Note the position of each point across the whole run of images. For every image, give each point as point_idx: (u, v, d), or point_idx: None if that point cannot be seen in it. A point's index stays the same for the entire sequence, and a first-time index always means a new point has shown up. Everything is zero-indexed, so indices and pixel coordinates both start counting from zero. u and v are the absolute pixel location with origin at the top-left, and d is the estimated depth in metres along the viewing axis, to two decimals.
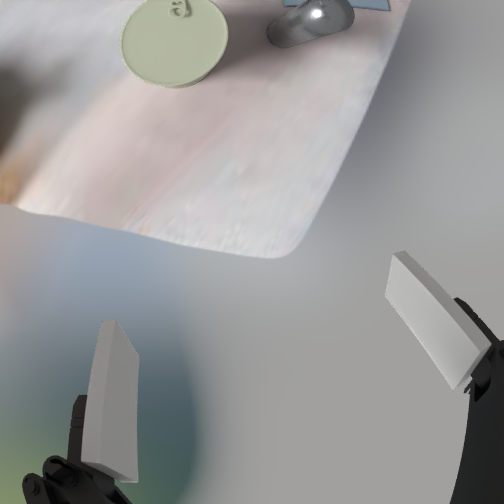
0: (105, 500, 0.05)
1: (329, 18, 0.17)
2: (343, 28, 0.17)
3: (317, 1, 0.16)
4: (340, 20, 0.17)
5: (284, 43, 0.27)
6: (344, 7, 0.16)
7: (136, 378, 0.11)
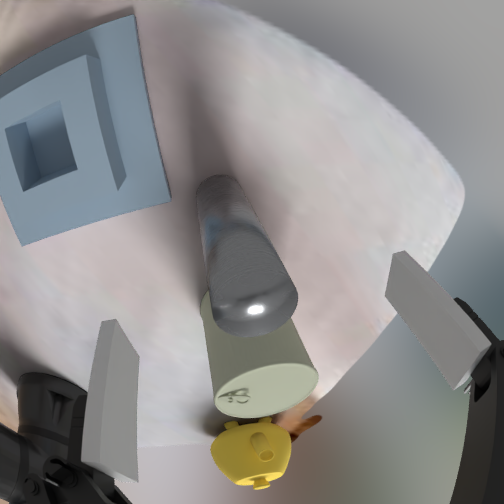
0: (105, 500, 0.05)
1: (274, 311, 0.13)
2: (292, 288, 0.13)
3: (242, 331, 0.14)
4: (277, 296, 0.13)
5: None
6: (245, 290, 0.12)
7: (136, 378, 0.11)
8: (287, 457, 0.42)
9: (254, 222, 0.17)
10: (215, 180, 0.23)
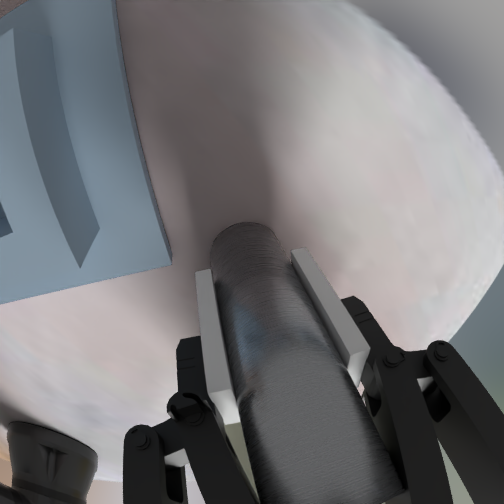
0: (228, 447, 0.07)
1: None
2: None
3: None
4: None
5: None
6: None
7: None
8: None
9: (329, 353, 0.09)
10: (242, 235, 0.14)
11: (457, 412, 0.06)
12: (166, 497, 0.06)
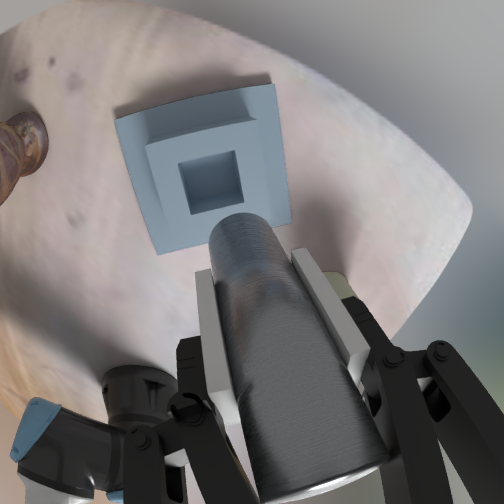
0: (228, 447, 0.07)
1: (350, 479, 0.06)
2: (386, 459, 0.06)
3: (298, 498, 0.07)
4: (362, 471, 0.06)
5: None
6: (319, 483, 0.05)
7: None
8: None
9: (316, 325, 0.10)
10: (238, 223, 0.15)
11: (457, 412, 0.06)
12: (166, 497, 0.06)
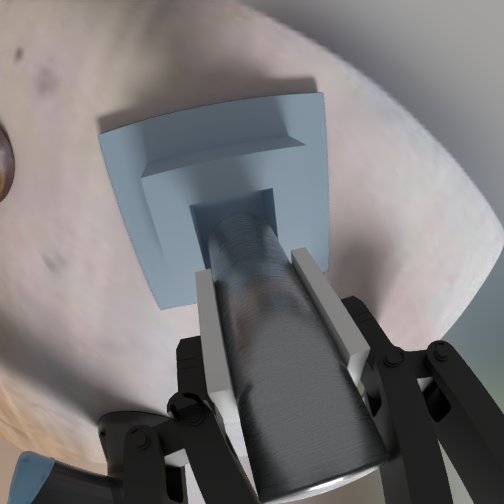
0: (228, 447, 0.07)
1: (349, 479, 0.06)
2: (386, 459, 0.06)
3: (298, 498, 0.07)
4: (362, 471, 0.06)
5: None
6: (319, 483, 0.05)
7: None
8: None
9: (316, 325, 0.10)
10: (238, 223, 0.15)
11: (457, 412, 0.06)
12: (166, 497, 0.06)
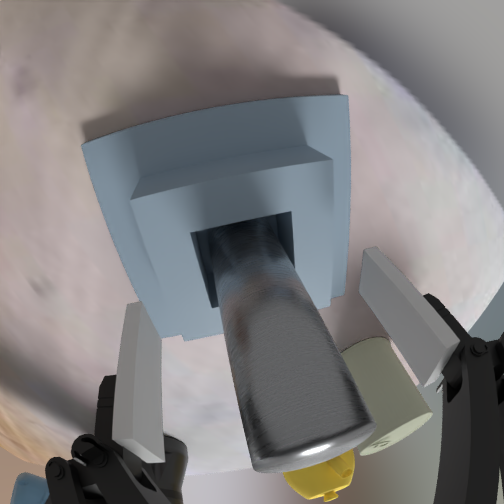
0: (135, 483, 0.06)
1: (339, 448, 0.07)
2: (372, 426, 0.07)
3: (290, 468, 0.08)
4: (349, 438, 0.07)
5: None
6: (307, 445, 0.06)
7: (160, 360, 0.12)
8: (353, 471, 0.43)
9: (305, 302, 0.11)
10: None
11: None
12: None
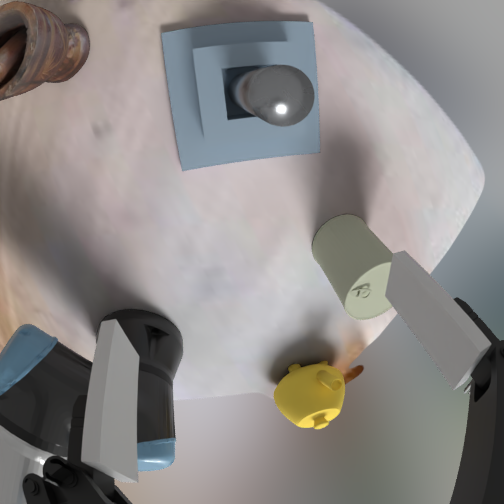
0: (105, 500, 0.05)
1: (296, 103, 0.16)
2: (310, 85, 0.15)
3: (271, 116, 0.16)
4: (299, 88, 0.15)
5: None
6: (276, 77, 0.15)
7: (136, 378, 0.11)
8: (343, 396, 0.52)
9: None
10: None
11: None
12: None
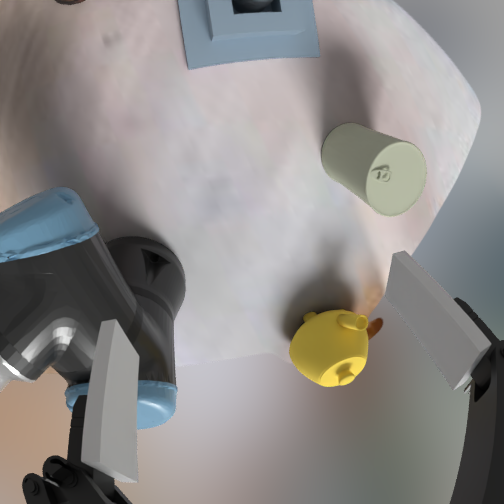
0: (105, 500, 0.05)
1: None
2: None
3: None
4: None
5: None
6: None
7: (136, 378, 0.11)
8: (367, 345, 0.48)
9: None
10: None
11: None
12: None
